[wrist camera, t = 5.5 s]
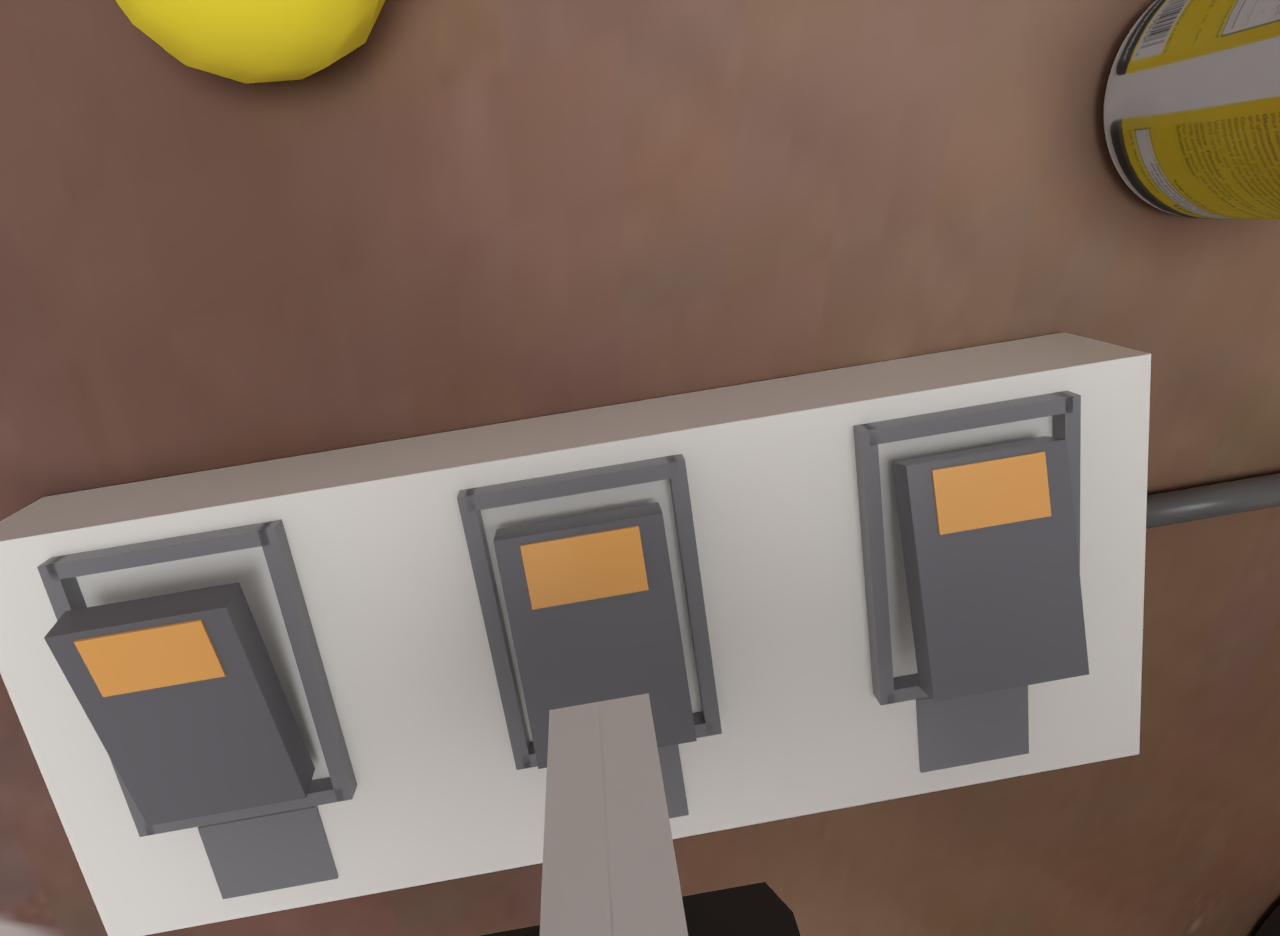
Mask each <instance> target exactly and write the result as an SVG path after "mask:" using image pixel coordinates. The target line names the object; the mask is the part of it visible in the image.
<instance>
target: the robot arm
mask: <svg viewBox="0 0 1280 936" xmlns="http://www.w3.org/2000/svg"><path fill="white" fill-rule="evenodd" d="M482 936H800V933H799V930H798V927H797V924H796V921H795V917H794V914H793V912H792V911H791V910H790V909H789V908H788V907H787V905H786V904H785V903H784V902H783V901H782V900H781V899H780V898H779V897H778V896H777V895H776V894H775V892H774V891H773V890H772V889H771V888H770V887H769V886H768V885H767V884H766V883H765V882H763V883H757V884H751V885H746V886H740V887H735V888H729V889H723V890H718V891H712V892H707V893H701V894H695V895H690V896H684V897H682V894H681V888H680V882H679V876H678V870H677V864H676V858H675V852H674V845H673V839H672V833H671V827H670V821H669V815H668V809H667V803H666V797H665V790H664V784H663V778H662V772H661V766H660V760H659V754H658V748H657V741H656V735H655V729H654V723H653V717H652V711H651V705H650V699H649V693H647V694H641V695H635V696H630V697H624V698H618V699H612V700H606V701H600V702H594V703H589V704H583V705H577V706H571V707H565V708H559V709H553V710H549V733H548V755H547V778H546V801H545V823H544V846H543V869H542V891H541V914H540V925H538V926H533V927H527V928H521V929H516V930H510V931H505V932H499V933H493V934H488V935H482ZM1255 936H1280V905H1279V906H1278V907H1277V908H1276V909H1275V910H1274V911H1273V912H1272V913H1271V915H1270V916H1269V917H1268V918H1267V919H1266V921H1265V922H1264V923H1263V925H1262V926H1261V927H1260V929H1259V930H1258V931H1257V933H1256V934H1255Z"/></svg>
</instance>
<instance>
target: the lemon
mask: <svg viewBox="0 0 1280 936" xmlns="http://www.w3.org/2000/svg"><path fill="white" fill-rule="evenodd" d="M115 1H116V2H117V3H118V5H119V6H120V7H121V9H122V10H123V12H124V13H125V14H126V16H127V17H128V18H129V20H130V21H131V22H132V24H133V25H135V26H136V27H137V28H138V29H140V30H141V31H142V32H144V33H145V34H146V35H147V36H149V37H150V38H151V39H153V40H154V41H155V42H156V43H158V44H159V45H160V46H161V47H162V48H163V49H164V50H165V51H167V52H168V53H169V54H171V55H172V56H173V57H175V58H176V59H178V60H179V61H180V62H182V63H183V64H184V65H186V66H189V67H192V68H196V69H199V70H202V71H206V72H209V73H212V74H216V75H219V76H222V77H225V78H229V79H232V80H235V81H239V82H242V83H245V84H248V83H261V82H275V81H288V80H301V79H304V78H306V77H308V76H310V75H312V74H314V73H316V72H318V71H320V70H322V69H324V68H326V67H328V66H329V65H331V64H332V63H334V62H336V61H337V60H339V59H340V58H342V57H344V56H346V55H347V54H349V53H350V52H352V51H353V50H355V49H357V48H358V47H360V46H361V45H363V44H364V43H366V41H367V39H368V36H369V34H370V32H371V30H372V28H373V26H374V24H375V22H376V20H377V17H378V15H379V13H380V11H381V9H382V7H383V5H384V3H385V1H386V0H115Z"/></svg>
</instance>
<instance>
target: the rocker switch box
mask: <svg viewBox="0 0 1280 936" xmlns="http://www.w3.org/2000/svg"><path fill="white" fill-rule="evenodd" d="M1150 376H1151V354H1150V353H1146V352H1142V351H1138V350H1134V349H1130V348H1126V347H1122V346H1118V345H1114V344H1110V343H1106V342H1102V341H1098V340H1094V339H1090V338H1086V337H1082V336H1078V335H1074V334H1070V333H1066V332H1063V333H1056V334H1050V335H1044V336H1038V337H1032V338H1025V339H1019V340H1013V341H1007V342H1001V343H994V344H988V345H982V346H976V347H970V348H963V349H957V350H951V351H945V352H939V353H932V354H926V355H920V356H914V357H908V358H901V359H895V360H889V361H883V362H877V363H871V364H864V365H858V366H852V367H846V368H840V369H833V370H827V371H821V372H815V373H809V374H802V375H796V376H790V377H784V378H778V379H771V380H765V381H759V382H753V383H747V384H740V385H734V386H728V387H722V388H716V389H709V390H703V391H697V392H691V393H685V394H678V395H672V396H666V397H660V398H654V399H647V400H641V401H635V402H629V403H623V404H616V405H610V406H604V407H598V408H592V409H585V410H579V411H573V412H567V413H561V414H554V415H548V416H542V417H536V418H530V419H523V420H517V421H511V422H505V423H499V424H492V425H486V426H480V427H474V428H468V429H461V430H455V431H449V432H443V433H437V434H430V435H424V436H418V437H412V438H406V439H399V440H393V441H387V442H381V443H375V444H368V445H362V446H356V447H350V448H344V449H337V450H331V451H325V452H319V453H313V454H306V455H300V456H294V457H288V458H282V459H275V460H269V461H263V462H257V463H251V464H244V465H238V466H232V467H226V468H220V469H213V470H207V471H201V472H195V473H189V474H182V475H176V476H170V477H164V478H158V479H152V480H145V481H139V482H133V483H127V484H121V485H114V486H108V487H102V488H96V489H90V490H83V491H77V492H71V493H65V494H59V495H52V496H46V497H43V498H41V499H39V500H37V501H35V502H34V503H32V504H30V505H28V506H27V507H25V508H23V509H21V510H19V511H18V512H16V513H14V514H12V515H11V516H9V517H7V518H5V519H3V520H2V521H0V673H1V676H2V678H3V681H4V683H5V686H6V688H7V690H8V693H9V695H10V698H11V700H12V703H13V705H14V707H15V710H16V712H17V715H18V717H19V720H20V722H21V725H22V727H23V729H24V732H25V734H26V737H27V739H28V742H29V744H30V746H31V749H32V751H33V754H34V756H35V759H36V761H37V764H38V766H39V768H40V771H41V773H42V776H43V778H44V781H45V783H46V785H47V788H48V790H49V793H50V795H51V798H52V800H53V802H54V805H55V807H56V810H57V812H58V815H59V817H60V820H61V822H62V824H63V827H64V829H65V832H66V834H67V837H68V839H69V841H70V844H71V846H72V849H73V851H74V854H75V856H76V859H77V861H78V863H79V866H80V868H81V871H82V873H83V876H84V878H85V880H86V883H87V885H88V888H89V890H90V893H91V895H92V897H93V900H94V902H95V905H96V907H97V910H98V912H99V915H100V917H101V919H102V922H103V924H104V927H105V929H106V932H107V934H108V936H143V935H149V934H154V933H160V932H165V931H171V930H176V929H182V928H187V927H193V926H198V925H204V924H209V923H215V922H220V921H226V920H231V919H237V918H242V917H248V916H253V915H259V914H264V913H270V912H275V911H281V910H286V909H292V908H297V907H303V906H308V905H314V904H319V903H325V902H330V901H336V900H341V899H347V898H352V897H358V896H363V895H369V894H374V893H380V892H385V891H391V890H396V889H402V888H407V887H413V886H418V885H424V884H429V883H434V882H440V881H445V880H451V879H456V878H462V877H467V876H473V875H478V874H484V873H489V872H495V871H500V870H506V869H511V868H517V867H522V866H528V865H533V864H539V863H543V846H544V823H545V801H546V778H547V768H542V769H538V764H537V759H536V754H535V749H534V744H533V739H532V734H531V729H530V724H529V719H528V714H527V709H526V704H525V699H524V694H523V689H522V684H521V679H520V674H519V669H518V664H517V659H516V654H515V649H514V644H513V639H512V633H511V628H510V623H509V618H508V613H507V608H506V603H505V598H504V593H503V588H502V583H501V578H500V573H499V568H498V563H497V558H496V553H495V548H494V543H493V540H494V537H495V534H496V530H497V529H500V528H506V527H512V526H518V525H524V524H530V523H536V522H542V521H548V520H554V519H561V518H567V517H573V516H579V515H585V514H591V513H597V512H603V511H609V510H615V509H621V508H627V507H633V506H639V505H645V504H651V503H657V502H658V503H659V505H660V508H661V511H662V513H663V520H664V527H665V533H666V540H667V547H668V553H669V560H670V567H671V573H672V580H673V587H674V593H675V600H676V606H677V613H678V620H679V626H680V633H681V640H682V646H683V653H684V660H685V666H686V673H687V680H688V686H689V693H690V700H691V706H692V713H693V719H694V726H695V733H696V739H697V741H694V742H688V743H682V744H677V745H671V746H666V747H660V748H658V754H659V760H660V766H661V772H662V778H663V784H664V790H665V797H666V803H667V809H668V815H669V821H670V827H671V833H672V839H676V838H682V837H687V836H693V835H698V834H704V833H709V832H715V831H720V830H725V829H731V828H736V827H742V826H747V825H753V824H758V823H764V822H769V821H775V820H780V819H786V818H791V817H797V816H802V815H808V814H813V813H819V812H824V811H830V810H835V809H841V808H846V807H852V806H857V805H863V804H868V803H874V802H879V801H885V800H890V799H896V798H901V797H907V796H912V795H918V794H923V793H929V792H934V791H940V790H945V789H951V788H956V787H962V786H967V785H973V784H978V783H984V782H989V781H995V780H1000V779H1006V778H1011V777H1016V776H1022V775H1027V774H1033V773H1038V772H1044V771H1049V770H1055V769H1060V768H1066V767H1071V766H1077V765H1082V764H1088V763H1093V762H1099V761H1104V760H1110V759H1115V758H1121V757H1126V756H1132V755H1137V754H1139V744H1140V710H1141V677H1142V643H1143V610H1144V576H1145V543H1146V528H1152V527H1157V526H1163V525H1169V524H1175V523H1181V522H1187V521H1192V520H1198V519H1204V518H1210V517H1216V516H1222V515H1228V514H1233V513H1239V512H1245V511H1251V510H1257V509H1263V508H1268V507H1274V506H1280V473H1277V474H1272V475H1266V476H1260V477H1254V478H1248V479H1242V480H1236V481H1230V482H1224V483H1219V484H1213V485H1207V486H1201V487H1195V488H1189V489H1183V490H1177V491H1171V492H1166V493H1160V494H1154V495H1148V496H1147V476H1148V443H1149V409H1150ZM1042 436H1049V437H1055V438H1062V439H1067V448H1068V458H1069V468H1070V479H1071V489H1072V499H1073V510H1074V520H1075V531H1076V541H1077V551H1078V562H1079V572H1080V582H1081V593H1082V603H1083V614H1084V624H1085V634H1086V645H1087V655H1088V665H1089V674H1088V675H1083V676H1077V677H1071V678H1066V679H1060V680H1055V681H1049V682H1043V683H1038V684H1032V685H1026V686H1021V687H1015V688H1010V689H1004V690H998V691H993V692H987V693H981V694H976V695H970V696H965V697H959V698H953V699H948V700H942V701H936V702H934V701H933V700H932V699H931V698H930V697H929V696H928V695H927V694H926V693H925V692H924V691H923V690H922V689H921V688H920V687H919V679H918V671H917V663H916V655H915V647H914V639H913V630H912V622H911V614H910V606H909V598H908V590H907V581H906V573H905V565H904V557H903V549H902V540H901V532H900V524H899V516H898V508H897V500H896V491H895V483H894V475H893V467H892V461H898V460H904V459H910V458H916V457H922V456H928V455H934V454H940V453H946V452H952V451H958V450H964V449H970V448H976V447H982V446H988V445H994V444H1000V443H1006V442H1012V441H1018V440H1024V439H1030V438H1036V437H1042ZM237 582H239V583H240V586H241V588H242V591H243V593H244V596H245V598H246V600H247V603H248V605H249V608H250V610H251V613H252V615H253V618H254V620H255V622H256V625H257V627H258V630H259V632H260V635H261V637H262V640H263V642H264V644H265V647H266V649H267V652H268V654H269V657H270V659H271V662H272V664H273V667H274V669H275V671H276V674H277V676H278V679H279V681H280V684H281V686H282V689H283V691H284V693H285V696H286V698H287V701H288V703H289V706H290V708H291V711H292V713H293V715H294V718H295V720H296V723H297V725H298V728H299V730H300V733H301V735H302V738H303V740H304V742H305V745H306V747H307V750H308V752H309V755H310V757H311V760H312V762H313V764H314V767H315V771H314V774H313V777H312V781H311V784H310V788H309V791H308V795H307V798H304V799H298V800H292V801H287V802H281V803H275V804H270V805H264V806H258V807H253V808H247V809H241V810H236V811H230V812H225V813H219V814H213V815H208V816H202V817H196V818H191V819H185V820H179V821H174V822H168V823H162V824H157V825H151V826H147V824H146V822H145V820H144V818H143V816H142V815H141V813H140V811H139V809H138V807H137V806H136V804H135V802H134V800H133V798H132V797H131V795H130V793H129V791H128V789H127V787H126V786H125V784H124V782H123V780H122V778H121V777H120V775H119V773H118V771H117V769H116V768H115V766H114V764H113V762H112V760H111V758H110V757H109V755H108V753H107V751H106V749H105V748H104V746H103V744H102V742H101V740H100V739H99V737H98V735H97V733H96V731H95V730H94V728H93V726H92V724H91V722H90V720H89V719H88V717H87V715H86V713H85V711H84V710H83V708H82V706H81V704H80V702H79V701H78V699H77V697H76V695H75V693H74V691H73V690H72V688H71V686H70V684H69V682H68V681H67V679H66V677H65V675H64V673H63V672H62V670H61V668H60V666H59V664H58V663H57V661H56V659H55V657H54V655H53V653H52V652H51V650H50V648H49V646H48V644H47V643H46V641H45V639H44V637H45V636H46V635H47V633H48V632H49V631H50V630H51V628H52V627H53V626H54V625H55V623H56V622H57V621H58V620H59V618H60V617H61V616H62V615H63V613H64V612H65V611H69V610H75V609H81V608H87V607H93V606H99V605H105V604H111V603H117V602H123V601H129V600H135V599H141V598H147V597H153V596H159V595H165V594H171V593H177V592H183V591H189V590H195V589H201V588H207V587H213V586H219V585H225V584H231V583H237Z"/></svg>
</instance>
